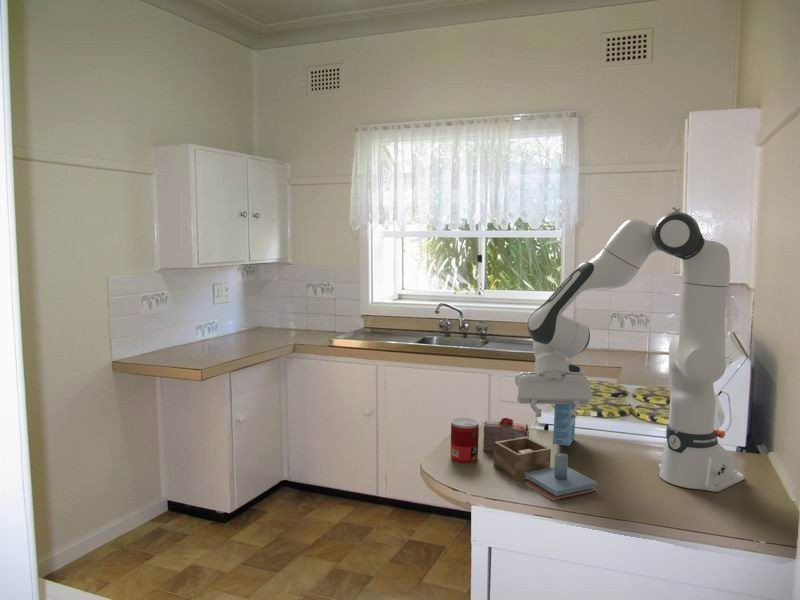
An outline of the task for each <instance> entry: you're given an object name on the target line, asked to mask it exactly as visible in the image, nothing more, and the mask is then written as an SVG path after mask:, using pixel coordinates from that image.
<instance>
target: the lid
mask: <svg viewBox="0 0 800 600" xmlns="http://www.w3.org/2000/svg"><path fill="white" fill-rule="evenodd" d="M554 456H555V457H554V466H552V467H551V466H550V468H546V469H541V470H536V471H531V472H526V473H525V477H526V479H527V480H529V481H532V482H534V483H536V484H537V485H539V486H541V487H542V488H544V489H546V490H547V491H549V492H551V493H552V494H554V495H556V496H559V495H564V494H568V493H573V492H577V491H582V490H586V489H591V488H595V489H596V488H598V482H597V481H596V480H593V479H592V478H589V476H586V475H584V474H582V473H580V472H578V471H577V470H574V469H572V468H570V467H569V465H568V462H569V461H568V460H569V455H568V454H567V453H565V452H564V453H563V452H559V453H555V454H554Z"/></svg>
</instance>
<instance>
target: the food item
mask: <svg viewBox="0 0 800 600" xmlns="http://www.w3.org/2000/svg"><path fill="white" fill-rule="evenodd" d="M522 437H528V438H530V430H529V425H528V423H518V422H514V420H513V419H512V418H508V417H503V418H501V421H500V420H498V421H497V420H486V421H485V422H484V425H483V441H482V443H483V445H482V446H483V447H482V450H483V451H484V452H485V451H489V452H494V442H498V441H504V440H510V439H516V438H522Z"/></svg>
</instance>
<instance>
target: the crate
mask: <svg viewBox="0 0 800 600" xmlns="http://www.w3.org/2000/svg"><path fill="white" fill-rule="evenodd" d="M551 451H552V449H551V448H550V447H548V446H547V445H544V444H542V443H540V442H538V441H535V440H534V439H532V438H531V437H529V438H528V437H522V438H516V439H510V440H504V441H498V442H494V451H493V467H494V468H496V469H498V470H499V469H500V471H501V472H502V471H503V472H502V473H504V472H505V473H504V474H506V475H507V474H508V475H507V476H509V475H510V476H509V477H511V478H512V477H513V478H512V479H514V480H515V479H516V481H521V480H524V479H525V478H526V477H525V473H526V472H531V471H536V470H541V469H546V468H551V458H552V457H551V456H552V455H551V453H552V452H551ZM520 479H521V480H520ZM526 479H527V478H526ZM526 479H525V480H526Z"/></svg>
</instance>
